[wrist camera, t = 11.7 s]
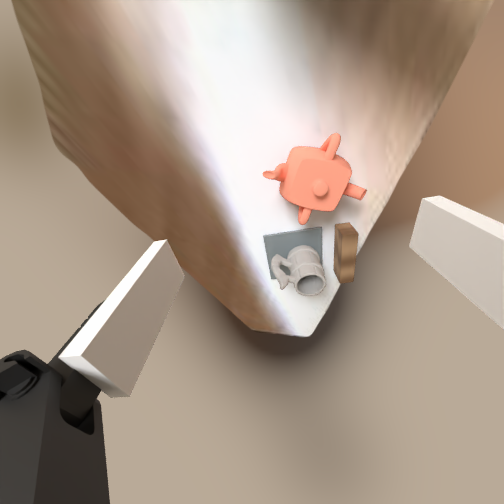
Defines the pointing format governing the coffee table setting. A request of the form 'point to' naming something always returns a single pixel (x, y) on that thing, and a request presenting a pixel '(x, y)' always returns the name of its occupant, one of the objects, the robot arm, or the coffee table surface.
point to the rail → (345, 252)
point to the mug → (301, 270)
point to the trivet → (292, 244)
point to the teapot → (315, 178)
